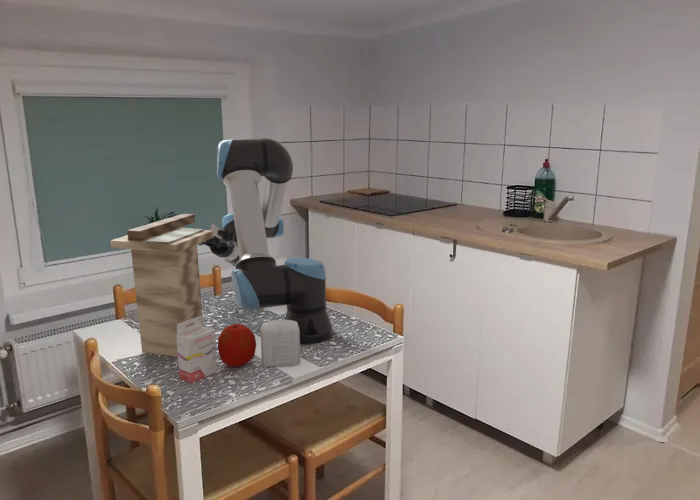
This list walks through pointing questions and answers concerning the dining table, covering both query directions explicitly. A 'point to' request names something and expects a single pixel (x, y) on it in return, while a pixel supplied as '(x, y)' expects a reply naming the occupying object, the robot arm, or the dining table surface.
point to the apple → (236, 345)
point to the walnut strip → (160, 227)
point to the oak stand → (165, 284)
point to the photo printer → (280, 343)
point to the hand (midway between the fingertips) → (192, 227)
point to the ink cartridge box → (196, 350)
